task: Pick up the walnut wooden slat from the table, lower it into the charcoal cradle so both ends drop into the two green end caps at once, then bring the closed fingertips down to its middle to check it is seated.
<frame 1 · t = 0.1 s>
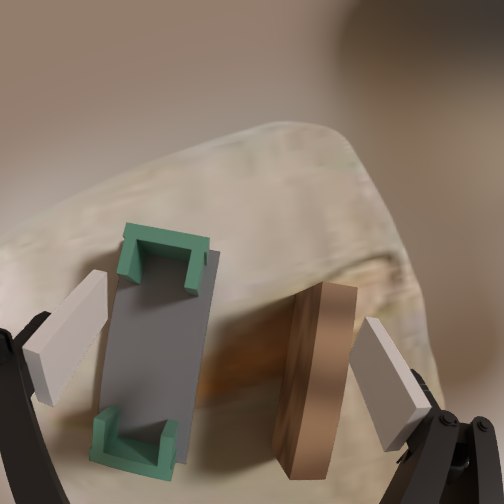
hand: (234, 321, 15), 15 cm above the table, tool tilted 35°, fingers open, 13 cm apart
cradle: (154, 352, 28), on the table
slat: (298, 375, 30), on the table
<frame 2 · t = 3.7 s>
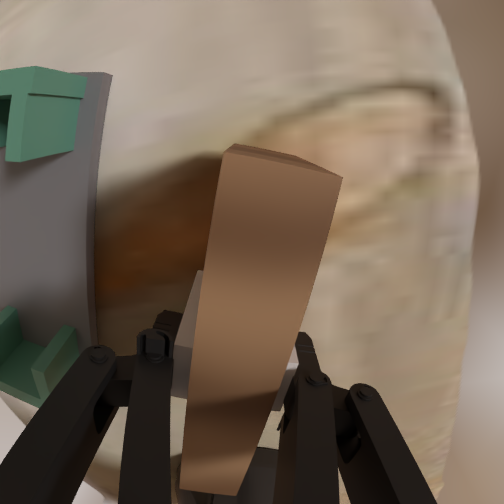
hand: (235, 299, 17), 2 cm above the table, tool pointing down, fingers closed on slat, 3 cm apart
cradle: (39, 233, 18), on the table
slat: (235, 295, 18), point 2 cm above the table, touching gripper
when the fingers open (3 cm above the table, at t = 8.1 s): slat drops 1 cm, resting on cradle.
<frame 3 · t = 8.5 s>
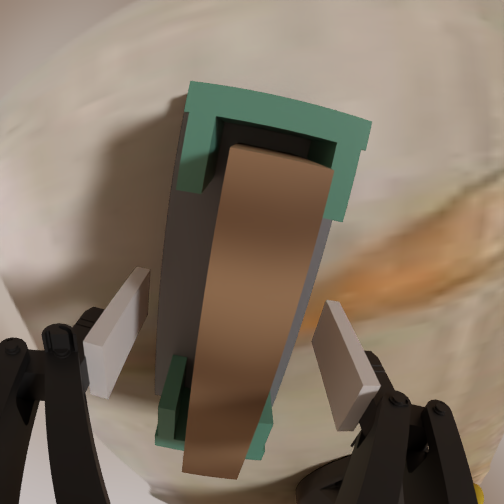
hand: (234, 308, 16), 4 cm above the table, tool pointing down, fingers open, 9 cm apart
cradle: (236, 277, 20), on the table
lemon: (461, 482, 36), on the table
slat: (237, 285, 19), point 1 cm above the table, touching cradle
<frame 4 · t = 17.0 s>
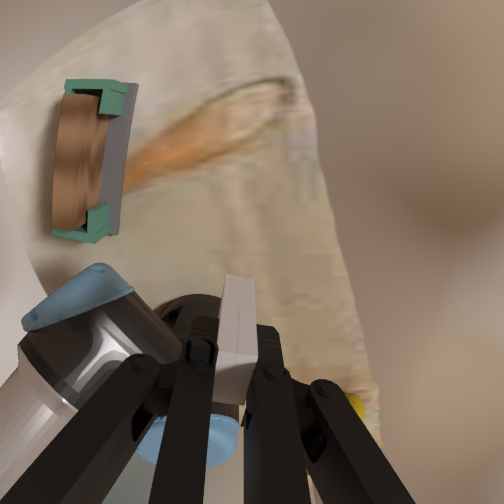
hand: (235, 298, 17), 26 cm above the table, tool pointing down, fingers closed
cradle: (97, 156, 39), on the table
lemon: (344, 394, 55), on the table
slat: (93, 156, 38), point 1 cm above the table, touching cradle
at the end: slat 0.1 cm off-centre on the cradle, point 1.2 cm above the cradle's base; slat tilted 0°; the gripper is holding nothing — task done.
